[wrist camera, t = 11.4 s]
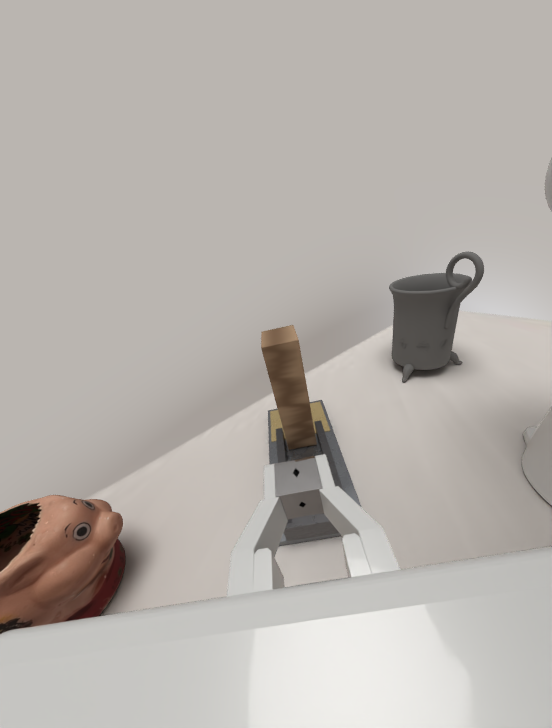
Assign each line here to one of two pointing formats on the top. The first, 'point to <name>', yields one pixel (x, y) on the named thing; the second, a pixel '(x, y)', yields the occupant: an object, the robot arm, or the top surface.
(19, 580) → the decorative planter
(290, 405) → the walnut block
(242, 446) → the top surface
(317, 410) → the steel chute
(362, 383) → the top surface
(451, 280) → the footed curly-handled cup
